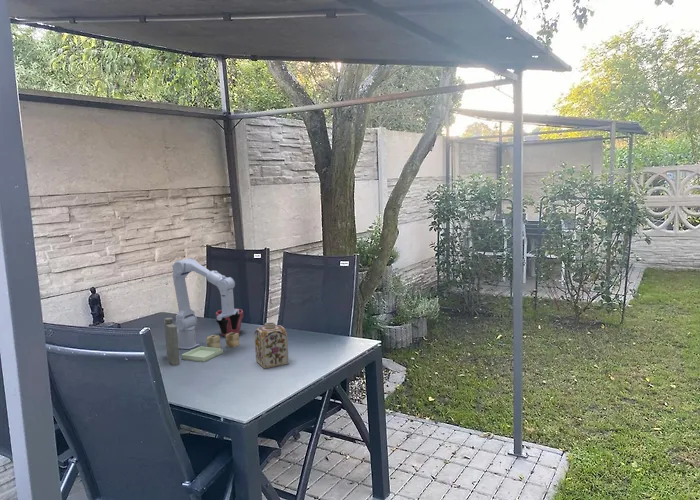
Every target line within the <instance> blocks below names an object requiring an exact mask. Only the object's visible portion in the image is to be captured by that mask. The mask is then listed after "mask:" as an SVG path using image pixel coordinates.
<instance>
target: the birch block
mask: <svg viewBox="0 0 700 500" xmlns="http://www.w3.org/2000/svg"><path fill="white" fill-rule="evenodd" d="M206 347H212V348H221V337H220V335H218V334H217V335H216V334H211V335H209V336H207V337H206ZM221 349H222V348H221Z"/></svg>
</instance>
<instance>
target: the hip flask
mask: <svg viewBox="0 0 700 500" xmlns="http://www.w3.org/2000/svg"><path fill="white" fill-rule="evenodd" d="M163 319H164V321H163V323H164V324H163V325H164V333H165V334H164V335H165V344H166V359H167V361H168V363H169V364H170V365H172V366H179V365H180V351H179V349H180V348H178V336H177V326H176V324H175V323H173V320H174V318H173V317H165V318H163Z"/></svg>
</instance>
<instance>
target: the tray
mask: <svg viewBox="0 0 700 500" xmlns="http://www.w3.org/2000/svg"><path fill="white" fill-rule="evenodd" d="M223 353H224V351H223V348H212V347H207V346H201V345H199V346H197V347H194V348H192V349H190V350H189V351H187V352H184V353H182V354H181V360H184V361H193V362H201V363H205V362H208V361H210V360H212V359H214V358H216V357H218V356H220V355H222V354H223Z"/></svg>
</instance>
